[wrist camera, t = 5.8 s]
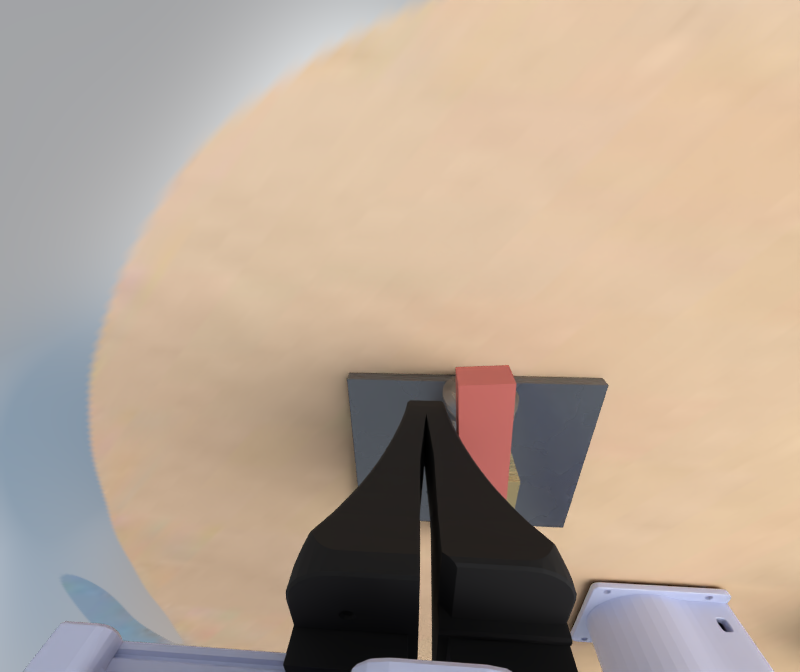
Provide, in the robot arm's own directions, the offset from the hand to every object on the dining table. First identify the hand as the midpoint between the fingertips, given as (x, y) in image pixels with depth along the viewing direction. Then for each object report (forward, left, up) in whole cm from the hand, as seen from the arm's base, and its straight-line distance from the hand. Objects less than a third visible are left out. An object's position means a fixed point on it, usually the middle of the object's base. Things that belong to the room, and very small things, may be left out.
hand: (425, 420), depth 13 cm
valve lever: (-2, +3, 0) cm, 3 cm away
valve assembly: (-3, +6, -5) cm, 8 cm away
